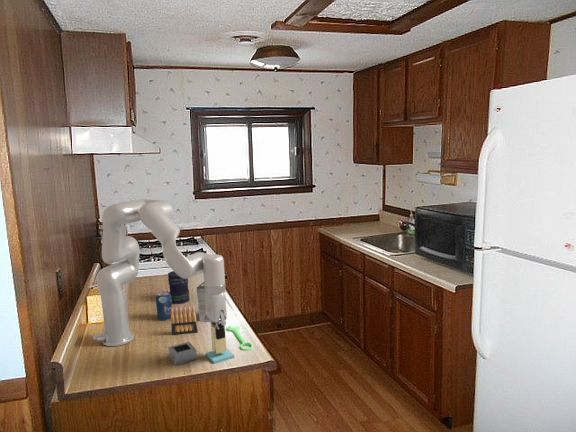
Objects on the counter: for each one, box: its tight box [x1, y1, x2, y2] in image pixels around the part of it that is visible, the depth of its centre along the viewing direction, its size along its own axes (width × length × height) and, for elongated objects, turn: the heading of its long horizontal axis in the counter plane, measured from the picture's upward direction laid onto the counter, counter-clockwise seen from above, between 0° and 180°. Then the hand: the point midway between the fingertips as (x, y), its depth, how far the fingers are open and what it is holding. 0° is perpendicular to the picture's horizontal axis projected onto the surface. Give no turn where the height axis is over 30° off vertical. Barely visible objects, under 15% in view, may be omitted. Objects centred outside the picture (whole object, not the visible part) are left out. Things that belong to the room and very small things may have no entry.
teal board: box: [205, 347, 235, 364], centre depth 167 cm, size 8×8×1 cm
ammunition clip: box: [170, 304, 198, 336], centre depth 189 cm, size 11×2×12 cm, turn 97°
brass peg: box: [210, 322, 227, 354], centre depth 166 cm, size 4×4×10 cm
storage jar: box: [167, 270, 190, 305], centre depth 229 cm, size 10×10×15 cm
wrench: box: [226, 325, 254, 352], centre depth 183 cm, size 25×2×5 cm
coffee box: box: [196, 281, 211, 322], centre depth 205 cm, size 9×6×16 cm
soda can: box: [155, 290, 173, 321], centre depth 207 cm, size 7×7×12 cm
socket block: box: [167, 341, 198, 366], centre depth 167 cm, size 8×8×4 cm
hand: (218, 335), depth 166 cm, fingers closed on brass peg, 4 cm apart
